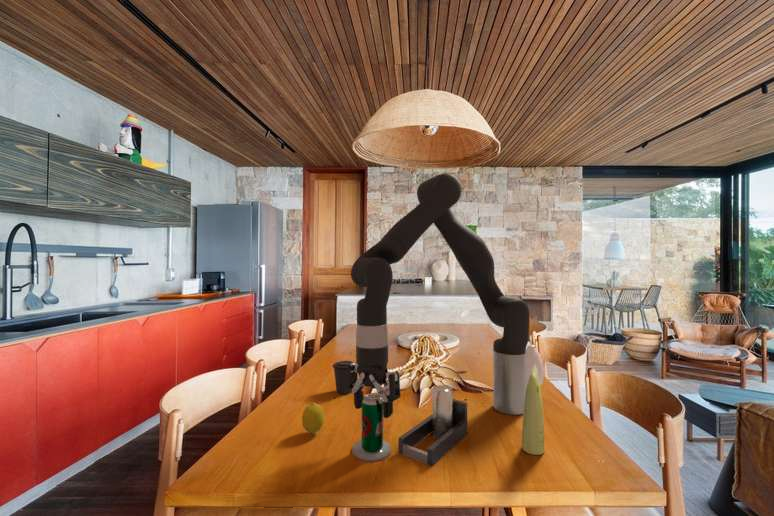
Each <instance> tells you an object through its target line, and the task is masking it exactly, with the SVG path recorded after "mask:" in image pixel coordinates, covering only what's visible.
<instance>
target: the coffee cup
mask: <svg viewBox="0 0 774 516" xmlns="http://www.w3.org/2000/svg"><path fill="white" fill-rule="evenodd" d="M351 363H354V361H351V360H340V361H337V362H334V363H333V365H332V368H333V370H334V371H333V372H334V380H335V381H334V382H335V390H336V394H338V395H343V396H345V395H349V394H352V393H353V391H352V389H348V388H347V366H348V365H349V364H351Z"/></svg>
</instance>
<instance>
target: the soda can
mask: <svg viewBox="0 0 774 516" xmlns="http://www.w3.org/2000/svg"><path fill="white" fill-rule="evenodd" d="M383 402H384V400H383V398H382V396H381V394H379V393H376V392H369V393H366V394H363V400H362V408H361V440H362V442H361V446H362V448H363V449H364V450H365V451H367V452H378V451H379V450H381V448H382V447H383V440H384V417H383Z"/></svg>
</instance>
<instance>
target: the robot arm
mask: <svg viewBox="0 0 774 516" xmlns="http://www.w3.org/2000/svg"><path fill="white" fill-rule="evenodd" d="M461 195H462V186H461V183H460V180H459V179H458V178H457V177H456V176H455V175H453V174H451V173H449V172H448V173H446V172H444V173H440V174H437V175H435V176H433V177H431V178H429V179H427V180H425V181H423V182H421V183H420V184H419V185H418V187H417V190H416V197H417V201H418V203H419V204H417V205H416V206H415V207H414V208H413V209H411V211H410V212H408V213H406V214H405V215H404V216H402V218H400V219H399V220H398V221H396V222H395V224H393V226H392V227H391V228H389V230H388V231H387V232H386V233H385V234H384V235H383V237H382V238H381V239H380V240H379V241H378V242H377V243H376V244H374V245H373V246H371V247H370V248H369V249H367V250H366V251H364V252H363V253H362V254H361V255H359V257H358V258H357V259H356V260H355V261H354V263H353V264H352V267H351V270H350V276H351V280H352V282H353V283H354V284H355V285H357V286H358V287H362V288H366V289H365V295H364V297H362V298H360V299H359V300H358V301H357V303H356V329H355V331H356V332H355V362H354V361H353V362H354V363H351V364H349V365H348V366H347V388H348V389H352V393H353V405H354V408H355V409H357V410H360V409H362V400H363V396H364V391H362V390H363V389H364V387H370V388H372V389H376V392H377V394H380V395H381V396H382V399H383V419H388V418H390V417H391V416H392V415H393V413H394V410H393V409H394V401H396V400H398V399H399V398H401V383H400V371H397V370H395V371H394V372H392V371H389V370H388V363H389V331H388V318H387V317H388V311H387V305H388V301H389V299H390V293H391V289H392V285H393V280H394V279H393V276H394V275H393V270H392V266H391V265H392V264H396V263H398V262H400V261H402V260H403V258H404V257H405V256H406V255H407V253H408V252H409V251H410V250H411V249H412V247H413V246H414V245H415V244H416V242H417V241H418V240H419V239H420V238H421V237H422V235H423V234H424V233H425V232H426V231H427V230H428V229H429V228H430V227H431V226H432V225H434V226H435V227H436V229H437V230H438V231H439V233H440V234H441V236H442V238H443V239H444V240H445V242H446V243H447V244H446V245H448V247H449V249H450V250H451V251H452V253H453V255H454V257H455V259H456V260H457V262H458V265H459V266H460V268H461V270H463V273H464V274H465V275H466V276H467V279H468V280H469V282H470V283H471V285H472V288H473V289H474V290H475V291H476V293H477V296H478V297H479V299H480V302H481V305H482V306H483V309H484V310H485V313H486V315H487V317H488V319H489V320H490V321H491V323H493V324H494V325H495V326H498V327H500V328H503V333H502V337H500V338H497V339H495V340H494V341H493V349H492V350H493V351H492V352H493V353H492V354H493V355H492V357H493V358H492V359H493V363H492V364H493V374H492V375H493V378H492V379H493V392H492V393H493V399H492V400H493V401H492V402H493V405H492V406H493V409H495V411H497V412H499V413H502V414H506V415H511V416H513V415H514V416H516V415H517V416H518V415H523V412H524V402H525V395H526V348H527V345H529V344H528V343H529V336H530V319H531V316H530V314H531V313H530V309H529V306H528V304H527V303H526V302H525V300H523V299H519V298H514V297H508V296H505V295H504V293H503V292H502V291H501V289H500V287H499V286H498V283H497V282H496V278H495V277H496V276H495V262H494V258H493V255H492V253H491V251H490V249H489V248H488V246H487V244H486V243H485V241H484V239H483V238H482V237H481V236H480V235H479V234H477V233H476V232H475V231H474V230H473V229H471V228H469V227H468V226H467V225H466V224H464V223H462V221H460V220H459V219H458V218H457V217H456V215H455V213H453V211H452V210H451V208H452V207H453V206H454V205H456V204H457V203H458V202H459V200H460V198H461ZM382 386H383V387H382Z"/></svg>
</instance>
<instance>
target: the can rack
mask: <svg viewBox="0 0 774 516" xmlns="http://www.w3.org/2000/svg"><path fill="white" fill-rule="evenodd" d="M432 431H433V413H432V414H430V415H429V416H428V417H426V418H425V419H424V420H422V421H421V422H419V423H417V424H416V425H415V426H413V427H412V428H411V429H409V430H407V431H405V432H404V433H403V434H401V435H400V436H399V437H398V450H397V451H398V454H401V455H403V456H405V457H408V458H410V459H413V460H416V461H418V462H420V463H423V464H425V465H427V466H430V467H434V466H435V464H436V463H437V462H439V461H440V460H441V459H442V458H443V457H444V456H445V455H446V454H447V453H448V452H449V451H451V449H453V448H454V447H455V446H456V445H457V444H458V443H459V442H460V441H462V440H463V439H464V437H466V436H467V435H468V402H467V401H463V400H459V399H455V398H453V428H451V429H450V430H449V431H448V432H447V433H445V434H444V435H443V436H442V437H441V438H439V439H438V440H435V442H433V443H432V444H431V445H429V446H428V447H427V448H426V449H427V451H424V450H422V449H420V448H416V447H415V446H416V445H417V444H418V443H420V442H421V441H422V440H423V438H424V437H425V438H427V437H428V436H429V435H430V434H432V433H433V432H432ZM429 433H430V434H429ZM428 434H429V435H428ZM427 435H428V436H427ZM425 438H424V439H425Z"/></svg>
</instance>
